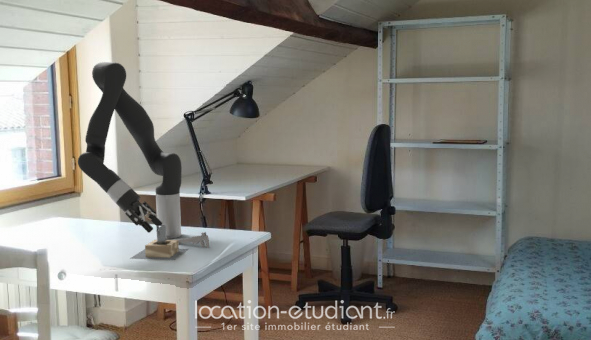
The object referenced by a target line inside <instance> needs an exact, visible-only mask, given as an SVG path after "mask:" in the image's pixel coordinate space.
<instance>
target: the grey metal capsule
mask: <svg viewBox="0 0 591 340" xmlns="http://www.w3.org/2000/svg"><path fill="white" fill-rule="evenodd" d="M155 226H156V225H155ZM155 228H156V240H157V245H167V243H166V240H167V239H166V225H158V226H156V227H155Z"/></svg>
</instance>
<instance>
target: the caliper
mask: <svg viewBox="0 0 591 340" xmlns="http://www.w3.org/2000/svg"><path fill="white" fill-rule="evenodd" d="M200 233H201V234H200V235H194V236H191V237H187V238H186V237H185V238H175V240H178V244H184V243H185V244H187V243H192V245H194V244H196V245H197V244H200V245H201V248H208V249H209V248H210V239H209V238H210V237H209V235H208V234H207V232H206V231H205V232H200Z"/></svg>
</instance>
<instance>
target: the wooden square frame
mask: <svg viewBox="0 0 591 340" xmlns="http://www.w3.org/2000/svg"><path fill="white" fill-rule="evenodd" d="M166 243H167V245H157V239H154V240H152V241H150V242H148V243H147V244H146V245H144V249H145V254H146V257H167V258H170V257H171V256H173V255H174V254H176V253H177V252H178V251H179V249H180V248H179V243H178V240H176V239H166Z"/></svg>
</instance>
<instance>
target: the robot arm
mask: <svg viewBox="0 0 591 340" xmlns="http://www.w3.org/2000/svg"><path fill="white" fill-rule="evenodd" d="M91 76H92V80H93V82H94V83H95V85H96V86H97V87H98V89H99V90H100V91H101V92H102V95H101V98H100V100H99V102H98V104H97V106H96V108H95V110H94V111H93V113H92V115H91V117H90V119H89V121H88V125H87V130H86V135H85V140H84V141H85V143H86V150H85V152H82V153H81V154H80V155H79V157H78V158H77V166H78V167H79V169H80V170H81V171H82V172H83V173H84V174H85V175H87V177H88V178H90V179H91V180H93V181H94V182H95V183H97V185H98V186H99V187H100V188H101V189H102V190H103V191H104V192H105V194H107V195H108V197H109V198H110V199H111V200H112V201H113V202H114V203H115V204H116V205H117V207H119V209H121V210H122V212H125V213H124V214H125V216H126V217H128V218H129V219H130V221H132V223H133V224H134V225H135V226H139V227H140V226H141V227H142V228H143V229H144V230H145V231H146V232H147V233H149V234H150V233H151V232H152V231H153V230H154V227H153V226H152V225H151V224H150V223H149V222H148V221H146V219H148V220H150V222H151V223H153V224H154V225H155V226H158V225H166V240H172V239H178V238H180V237H182V221H181V219H182V218H181V195H180V194H181V193H180V191H181V190H180V189H181V186H182V170H183V169H182V160H181V158H180V156H179V155H178V154H176V153H174V152H164V151H163V150H162V149H161V148H160V146H159V145H158V143H157V141H156V138H155V126H154V123H153V121H152V119H151V118H150V115H149V114H148V112H147V111H146V109H144V107H143V105H141V104H140V103H139V102H138V101H137V100H136V99H134V98H133V97H132V96H131V95H130V94H129V93H128V92H127V91H126V90H125V88H124V87H125V85H126V81H127V71H126V68H125V67H124V65H122V64H121V63H119V62H111V61H110V62H107V61H106V62H105V61H104V62H103V61H102V62H97V63H96V64H95V65H94V66H93V68H92V71H91ZM114 112H116V113H117V115H118V117H119V118H120V120H121V121H122V124H123V125H124V126H125V128H126V129H127V131H128V132H129V133H130V135H131V137H132V138H133V139H134V141H135V142H136V144H137V146H138V148H139V149H140V150H141V152H142V154H143V156H144V158H145V160H146V162H147V164H148V166H149V167H150V170H151V171H152V173H154V174H155V175H157V176H161V177H162V182H161V183H160V184H159V185H157V186H156V187H155V205H156V206H155V207H156V208H155V209H154V208H153V207H151V206H150V204H148V203H147V202H146V201H143V203H141V202H140V199H141V197H140V195H139V194H138V193H137V192H136V191H135V190H134V189H133V188H132V187H131V186H130V185H129V184H128V183H127V182H126V181H124V180H123V179H122V178H121V177H120V176H119V175H118V173H116V172H115V171H114V170H112V169H110V168H109V167H107V166H106V165H105V164H104V162H105V155H106V142H107V138H108V133H109V129H110V126H111V120H112V118H113V114H114Z"/></svg>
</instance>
